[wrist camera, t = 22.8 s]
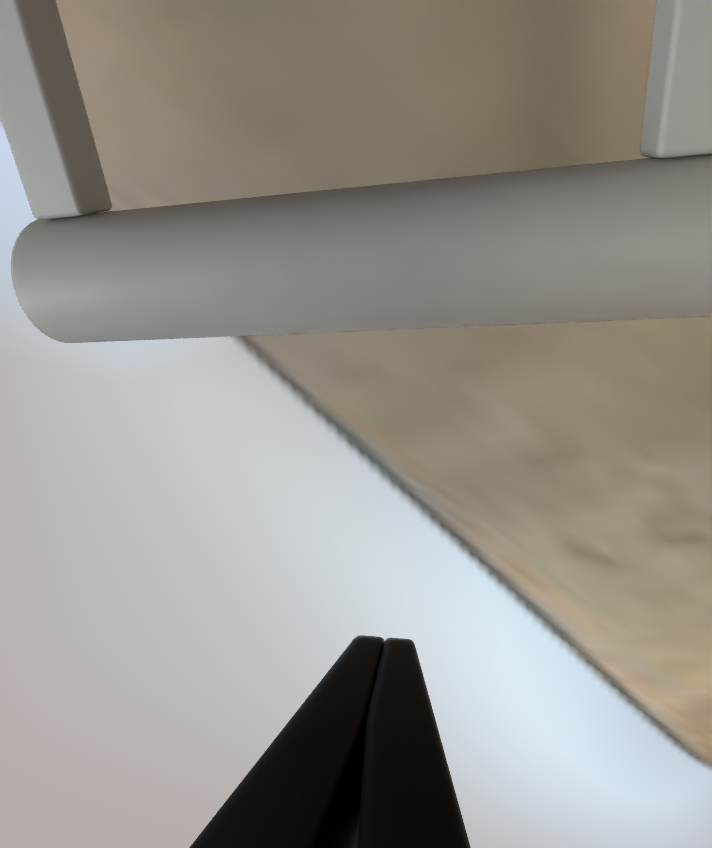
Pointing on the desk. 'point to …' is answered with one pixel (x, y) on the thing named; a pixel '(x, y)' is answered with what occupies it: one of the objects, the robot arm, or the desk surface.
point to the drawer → (361, 224)
